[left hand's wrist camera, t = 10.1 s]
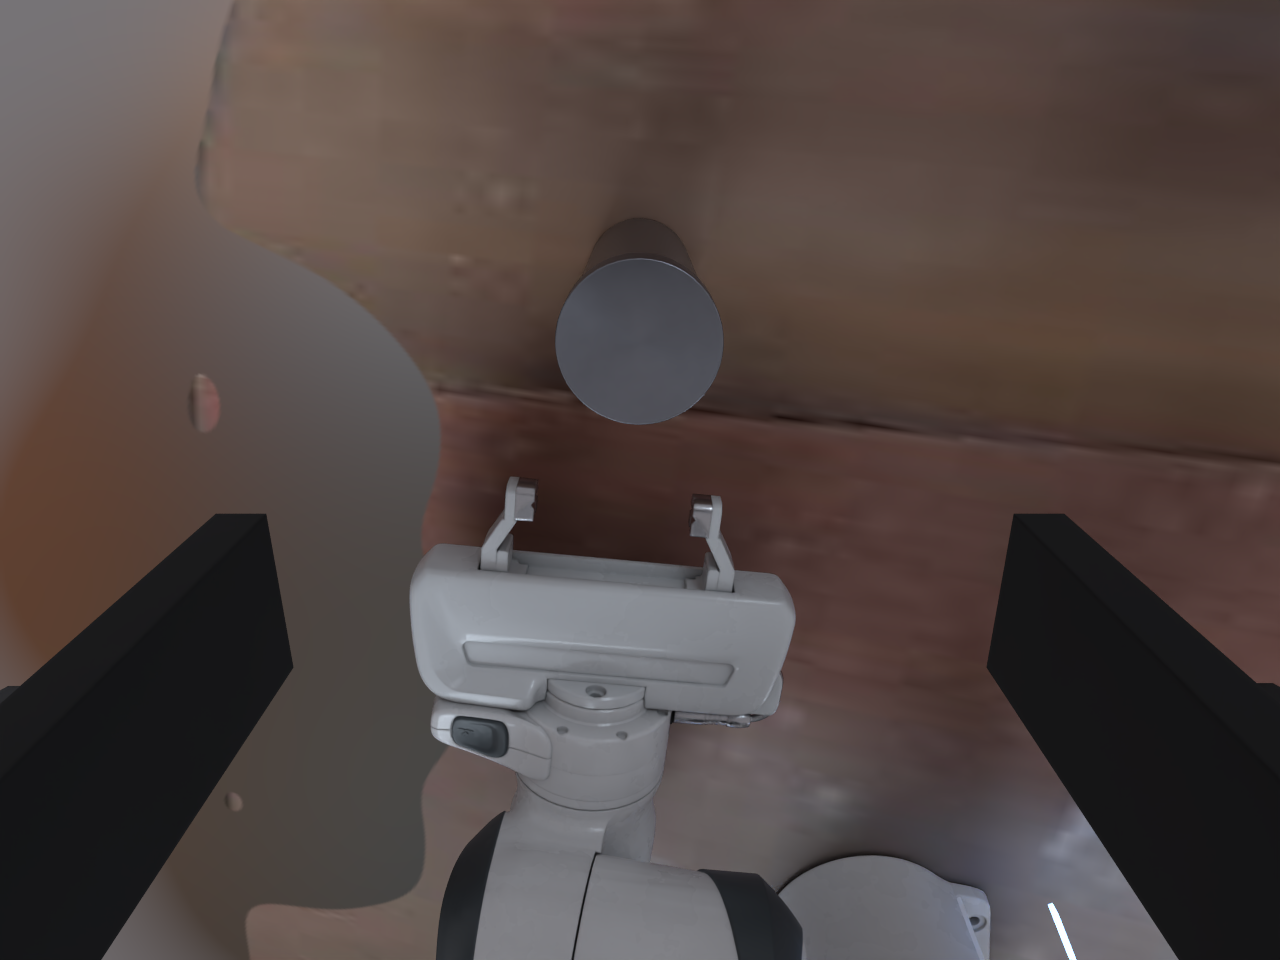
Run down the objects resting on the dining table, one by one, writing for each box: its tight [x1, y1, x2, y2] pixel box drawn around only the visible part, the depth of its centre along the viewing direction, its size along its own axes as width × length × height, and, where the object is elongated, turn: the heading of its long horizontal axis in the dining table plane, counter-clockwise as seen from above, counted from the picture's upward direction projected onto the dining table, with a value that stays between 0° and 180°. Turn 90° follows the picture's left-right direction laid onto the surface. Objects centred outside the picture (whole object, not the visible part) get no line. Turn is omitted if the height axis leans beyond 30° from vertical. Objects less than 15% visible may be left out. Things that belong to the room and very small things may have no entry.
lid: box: [555, 252, 724, 425], centre depth 30 cm, size 6×6×2 cm
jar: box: [582, 218, 697, 276], centre depth 38 cm, size 5×5×17 cm
